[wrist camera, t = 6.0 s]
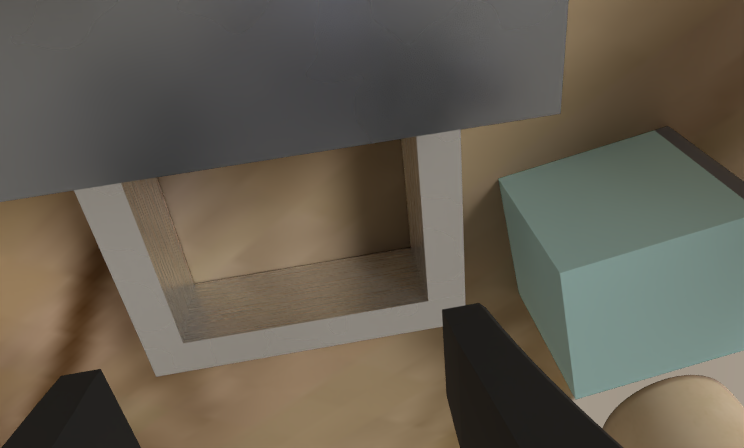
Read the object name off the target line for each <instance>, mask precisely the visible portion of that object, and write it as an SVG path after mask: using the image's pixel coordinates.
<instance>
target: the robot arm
mask: <svg viewBox="0 0 744 448" xmlns="http://www.w3.org/2000/svg"><path fill="white" fill-rule="evenodd" d="M442 322H443V339H444V357H445V374H446V392H447V399H448V403H449V406H450V410H451V414H452V418H453V422H454V426H455V430H456V434H457V437H458V441H459V445H460V448H623V447H622V446H621V445H620V444H619V443H618V442H617V441H616V440H614V439H613V438H612V437H611V436H610V435H609V434H608V433H607V432H605V431H604V430H603V429H602V428H601V427H600V426H599V425H598V424H596V423H595V422H594V421H593V420H592V419H591V418H590V417H589V416H588V415H587V414H586V413H585V412H584V411H582V410H581V409H580V408H579V407H578V406H577V405H576V404H575V403H574V402H573V401H572V400H571V399H570V398H569V397H568V396H567V395H566V394H565V393H564V392H563V391H562V390H561V389H560V388H559V387H558V386H557V385H556V384H555V383H554V382H553V381H552V380H551V379H550V378H549V377H548V376H547V375H546V374H545V373H544V372H543V371H542V370H541V369H540V368H539V367H538V366H537V365H536V364H535V363H534V362H533V361H532V360H531V359H530V358H529V357H528V355H527V354H526V353H525V352H524V351H523V350H522V349H521V348H520V347H519V346H518V345H517V344H516V342H515V341H514V340H513V339H512V338H511V337H510V336H509V335H508V334H507V332H506V331H505V330H504V329H503V328H502V327H501V325H500V324H499V323H498V322H497V321H496V320H495V318H494V317H493V316H492V315H491V314H490V312H489V311H488V310H487V309H486V307H484V306H483V305H481V304H480V303H476V304H470V305H464V306H459V307H453V308H447V309H442ZM2 448H141V447H140V445H139V443H138V441H137V439H136V437H135V435H134V433H133V431H132V429H131V427H130V425H129V423H128V422H127V420H126V418H125V416H124V414H123V412H122V410H121V408H120V406H119V404H118V402H117V400H116V398H115V396H114V394H113V392H112V390H111V388H110V386H109V384H108V382H107V380H106V378H105V376H104V374H103V373H102V371H101V369H98V370H92V371H87V372H81V373H75V374H69V375H64V376H61V377H60V378H59V379H58V380H57V381H56V383H55V384H54V385H53V386H52V387H51V388H50V389H49V391H48V392H47V393H46V394H45V395H44V397H43V398H42V399H41V400H40V401H39V403H38V404H37V405H36V406H35V407H34V409H33V410H32V411H31V412H30V414H29V415H28V416H27V417H26V418H25V420H24V421H23V422H22V423H21V425H20V426H19V427H18V428H17V429H16V431H15V432H14V433H13V434H12V436H11V437H10V438H9V439H8V440H7V442H6V443H5V444H4V445H3V447H2Z"/></svg>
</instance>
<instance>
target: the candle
mask: <svg viewBox="0 0 744 448" xmlns="http://www.w3.org/2000/svg"><path fill="white" fill-rule="evenodd" d="M603 430H604V431H605V432H607V433H608V434H609V435H610V436H611V437H612V438H613V439H614V440H616V441H617V442H618V443H619V444H620V445H621V446H622V447H623V448H744V407H743V406H742V405H741V403H740V402H739V401H738V400H737V399H736V398H735V396H734V395H733V394H732V393H731V392H730V391H729V390H728V389H727V388H726V387H725V386H724V385H722V384H721V383H720V382H718V381H717V380H715V379H712V378H710V377H706V376H699V375H684V376H677V377H672V378H668V379H664V380H661V381H658V382H656V383H653V384H651V385H649V386H647V387H644V388H642V389H641V390H639V391H637V392H636V393H634V394H632V395H631V396H630V397H628V398H627V399H626V400H624V401H623V402H622V403H621V404H620V405H619V406H618V407H617V408H616V409H615V410H614V411H613V412H612V413H611V415H610V416H609V417H608V419H607V421H606V422H605V424H604V426H603Z"/></svg>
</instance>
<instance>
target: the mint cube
mask: <svg viewBox="0 0 744 448" xmlns="http://www.w3.org/2000/svg"><path fill="white" fill-rule="evenodd" d="M498 180H499V185H500V191H501V196H502V202H503V208H504V213H505V219H506V224H507V230H508V235H509V241H510V246H511V252H512V258H513V263H514V269H515V274H516V280H517V285H518V291H519V294H520V296H521V298H522V300H523V302H524V304H525V305H526V307H527V309H528V311H529V313H530V315H531V317H532V319H533V320H534V322H535V324H536V326H537V328H538V330H539V332H540V334H541V335H542V337H543V339H544V341H545V343H546V345H547V347H548V349H549V350H550V352H551V354H552V356H553V358H554V360H555V362H556V364H557V365H558V367H559V369H560V371H561V373H562V375H563V377H564V379H565V380H566V382H567V384H568V386H569V388H570V390H571V392H572V394H573V396H574V397H575V399H579V398H582V397H586V396H590V395H593V394H596V393H600V392H603V391H606V390H610V389H613V388H617V387H620V386H624V385H627V384H630V383H634V382H637V381H641V380H644V379H647V378H651V377H654V376H658V375H661V374H664V373H668V372H671V371H674V370H678V369H682V368H685V367H689V366H692V365H695V364H699V363H702V362H705V361H709V360H712V359H716V358H719V357H722V356H726V355H729V354H732V353H736V352H740V351H743V350H744V181H742V180H741V179H740V178H738V177H737V176H735V175H734V174H733V173H731V172H730V171H729V170H727V169H726V168H725V167H723V166H722V165H720V164H719V163H718V162H716V161H715V160H714V159H712V158H711V157H710V156H708V155H707V154H705V153H704V152H703V151H701V150H700V149H699V148H697V147H696V146H695V145H693V144H692V143H690V142H689V141H688V140H686V139H685V138H684V137H682V136H681V135H680V134H678V133H677V132H675V131H674V130H673V129H671V128H670V127H669V126H667V127H663V128H660V129H657V130H654V131H651V132H647V133H644V134H641V135H638V136H634V137H631V138H628V139H625V140H621V141H618V142H615V143H612V144H609V145H605V146H602V147H599V148H596V149H592V150H589V151H586V152H583V153H579V154H576V155H573V156H570V157H567V158H563V159H560V160H557V161H554V162H550V163H547V164H544V165H541V166H537V167H534V168H531V169H528V170H525V171H521V172H518V173H515V174H512V175H508V176H505V177H502V178H499V179H498Z"/></svg>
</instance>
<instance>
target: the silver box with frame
mask: <svg viewBox="0 0 744 448" xmlns="http://www.w3.org/2000/svg"><path fill="white" fill-rule="evenodd" d="M568 1H569V0H0V202H3V201H10V200H16V199H22V198H29V197H35V196H41V195H48V194H54V193H60V192H67V191H73V190H74V192H75V194H76V196H77V199H78V201H79V203H80V205H81V208H82V210H83V212H84V214H85V217H86V219H87V221H88V223H89V226H90V228H91V230H92V232H93V235H94V237H95V239H96V242H97V244H98V246H99V248H100V251H101V253H102V255H103V257H104V260H105V262H106V264H107V266H108V269H109V271H110V273H111V275H112V278H113V280H114V282H115V284H116V287H117V289H118V291H119V294H120V296H121V298H122V300H123V303H124V305H125V307H126V309H127V312H128V314H129V316H130V318H131V321H132V323H133V325H134V327H135V330H136V332H137V334H138V336H139V339H140V341H141V343H142V346H143V348H144V350H145V352H146V355H147V357H148V359H149V361H150V364H151V366H152V368H153V370H154V373H155V375H156V377H158V376H163V375H169V374H175V373H180V372H186V371H192V370H198V369H203V368H209V367H215V366H220V365H226V364H232V363H238V362H243V361H249V360H255V359H260V358H266V357H272V356H277V355H283V354H289V353H295V352H300V351H306V350H312V349H317V348H323V347H329V346H335V345H340V344H346V343H352V342H357V341H363V340H369V339H375V338H380V337H386V336H392V335H397V334H403V333H409V332H415V331H420V330H426V329H432V328H437V327H443V322H442V309H447V308H453V307H459V306H464V305H465V271H464V235H463V200H462V164H461V129H467V128H473V127H480V126H486V125H492V124H499V123H505V122H511V121H518V120H524V119H530V118H537V117H543V116H549V115H556V114H561V100H562V86H563V72H564V58H565V43H566V29H567V15H568ZM397 139H401V143H402V154H403V165H404V177H405V188H406V199H407V211H408V222H409V233H410V245H411V248H406V249H400V250H394V251H388V252H382V253H376V254H370V255H364V256H358V257H352V258H346V259H340V260H334V261H328V262H322V263H316V264H310V265H304V266H298V267H292V268H286V269H280V270H274V271H269V272H263V273H257V274H251V275H245V276H239V277H233V278H227V279H221V280H215V281H209V282H203V283H197V284H194V282H193V279H192V276H191V273H190V270H189V267H188V265H187V262H186V259H185V256H184V253H183V250H182V247H181V245H180V242H179V239H178V236H177V233H176V230H175V227H174V224H173V222H172V219H171V216H170V213H169V210H168V207H167V204H166V202H165V199H164V196H163V193H162V190H161V187H160V184H159V181H158V179H157V177H162V176H168V175H175V174H181V173H187V172H194V171H200V170H207V169H213V168H219V167H226V166H232V165H238V164H245V163H251V162H257V161H264V160H270V159H276V158H283V157H289V156H295V155H302V154H308V153H314V152H321V151H327V150H334V149H340V148H346V147H353V146H359V145H365V144H372V143H378V142H384V141H391V140H397Z"/></svg>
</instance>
